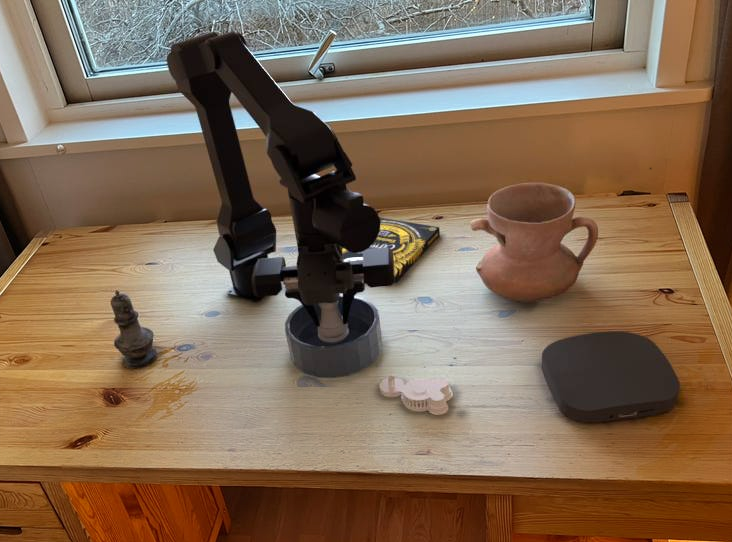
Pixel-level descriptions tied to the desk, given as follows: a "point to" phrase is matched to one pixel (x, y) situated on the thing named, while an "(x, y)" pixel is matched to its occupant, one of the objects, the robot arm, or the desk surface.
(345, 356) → the basin
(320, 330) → the rook chess piece
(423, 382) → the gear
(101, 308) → the desk surface
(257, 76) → the robot arm
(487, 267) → the ceramic jug
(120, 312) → the bishop chess piece
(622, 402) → the media streaming box
